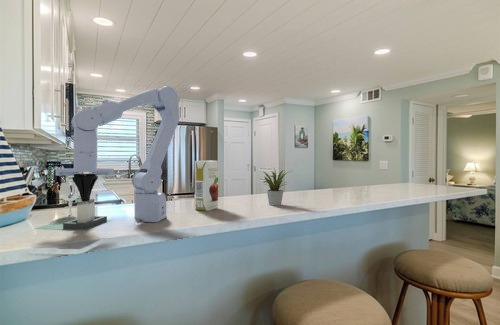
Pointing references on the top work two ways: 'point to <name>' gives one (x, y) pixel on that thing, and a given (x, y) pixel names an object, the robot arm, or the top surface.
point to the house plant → (275, 188)
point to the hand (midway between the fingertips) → (85, 200)
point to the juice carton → (206, 185)
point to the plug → (85, 211)
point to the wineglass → (69, 192)
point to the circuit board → (76, 224)
